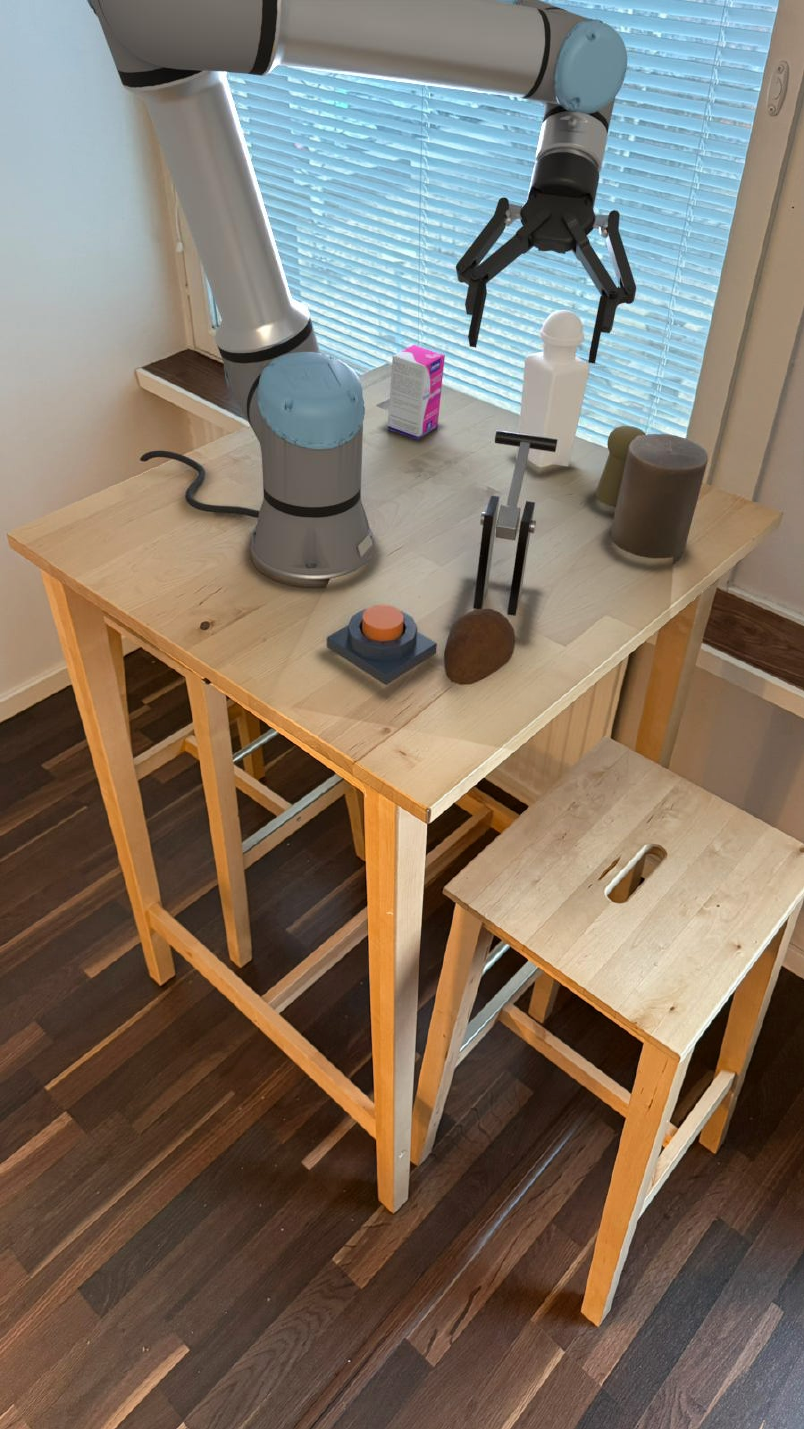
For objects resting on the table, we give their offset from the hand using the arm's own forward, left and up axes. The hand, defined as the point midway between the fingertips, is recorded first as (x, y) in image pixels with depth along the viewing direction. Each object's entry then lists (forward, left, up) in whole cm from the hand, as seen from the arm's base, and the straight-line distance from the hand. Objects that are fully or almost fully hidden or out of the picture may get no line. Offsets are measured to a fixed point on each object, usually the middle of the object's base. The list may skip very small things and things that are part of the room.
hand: (531, 350), depth 115 cm
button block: (+5, -28, -26) cm, 39 cm away
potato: (+13, -22, -26) cm, 36 cm away
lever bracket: (+8, -12, -26) cm, 29 cm away
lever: (+6, -7, -12) cm, 15 cm away
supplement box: (-30, +16, -26) cm, 43 cm away
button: (+5, -28, -22) cm, 36 cm away
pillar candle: (+13, +14, -26) cm, 32 cm away
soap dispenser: (-10, +22, -26) cm, 35 cm away
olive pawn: (+4, +20, -26) cm, 33 cm away
